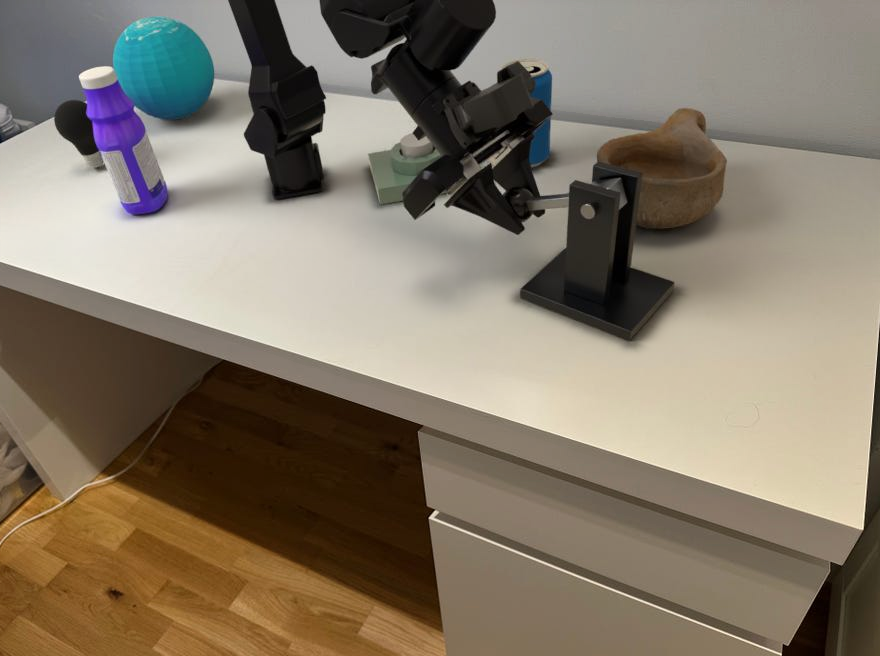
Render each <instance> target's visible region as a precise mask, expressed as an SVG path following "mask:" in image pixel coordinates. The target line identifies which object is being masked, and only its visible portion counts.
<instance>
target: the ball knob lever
mask: <svg viewBox="0 0 880 656" xmlns="http://www.w3.org/2000/svg"><path fill="white" fill-rule="evenodd" d="M590 184H592V185H595V186H599V187H603V188H606V189H610V190H614V191H617V192H621V195H620V204H619V210H620V209H621V208H622V207H623V206H624V205H625V204H626V203H627V198H626V195H625V191H624V187H623V183H622V179H621V178H614V179H605V180H597V181H593V182H592V181H591V183H590ZM502 195H503V196H504V198H505V199H506V200H507V202H508V203H509V205H510V206H511V207H512V209H513V210H514V211H515V213H516V214H517V216H518V217H519V219H520V220H521V222H522V224H524V223H525V222H527V221H529V220H530V219H531V217H532V216H534V215H533V213H534V211H535V210H542V209H545V210H552V209H564V208H565V209H566V208H568V206H569V192H566V193H558V194H547V195H540V196H537V197H534V196H533V194H532V193H531V192H530V191H529V190H528V189H526V188H524V187H512V188H510V189H508V190H507V191H506V190H504V192H503V193H502Z"/></svg>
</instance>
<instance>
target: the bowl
mask: <svg viewBox="0 0 880 656" xmlns="http://www.w3.org/2000/svg"><path fill="white" fill-rule="evenodd" d="M706 130H707V122H706V117H705V115H704V113H702V112H701V111H700V110H697V109H694V108H688V107H683V108H678V109H676V110H675V111H674V112H673V113H672V114H671V115H669V117H668V118H667V120H666V121H665V122H664V124H662V125H661V126H659V127H658V128H655V129H653V130H651V131H648V132H641V133H634V134H629V135H628V134H627V135H625V136H619V137H616V138H612V139H609V140H608V141H606V142H604V143H603V144H602V145H601V146H599V148H598V150H597V151H596V163H597V162H603V163H607V164H611V165H615V166H619V167H623V168H627V169H631V170H634V171H638V172H642V173H643V175H642V183H641V191H640V199H639V206H638V214H637V222H636V227H640V228H644V229H645V228H646V229H670V228H671V229H672V228H677V227H681V226H686V225H688V224H689V225H690V224H691V223H692V224H693V223H694V222H696V221H697V220H700V219H702V218H703V217H704V216H706V215H708V214H709V213H711V211H713V210H714V208H715V207H716V205H717V204H718V203H719V202H720V200H721V199H722V196H723V193H724V188H725V175H726V167H727V163H728V160H727V157H726V156H725V155H724V153H723V152H722V150H721V149H719V147H718V146H717V145H716V144H715V143H714V141H713V140H712V139H711V138H710V137H709V136H708V135H707V133H706V132H707V131H706Z"/></svg>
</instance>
